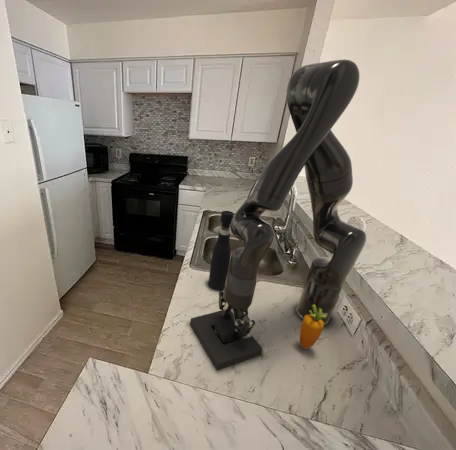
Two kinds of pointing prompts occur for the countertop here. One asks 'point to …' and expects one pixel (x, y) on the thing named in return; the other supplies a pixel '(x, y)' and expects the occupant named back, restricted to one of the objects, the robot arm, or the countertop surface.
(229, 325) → the connector pad
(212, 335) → the base mat
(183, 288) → the countertop surface
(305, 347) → the carrot
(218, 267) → the wine bottle
